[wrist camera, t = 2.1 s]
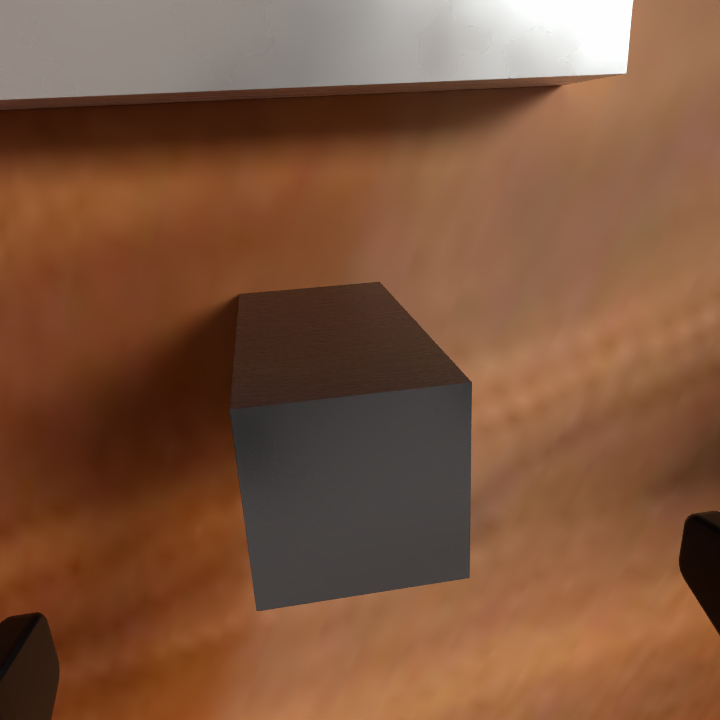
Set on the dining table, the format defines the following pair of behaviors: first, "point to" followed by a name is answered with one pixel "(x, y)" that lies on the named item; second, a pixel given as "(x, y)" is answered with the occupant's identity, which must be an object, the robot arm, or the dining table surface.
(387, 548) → the graphite block
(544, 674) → the dining table surface
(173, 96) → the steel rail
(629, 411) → the dining table surface
